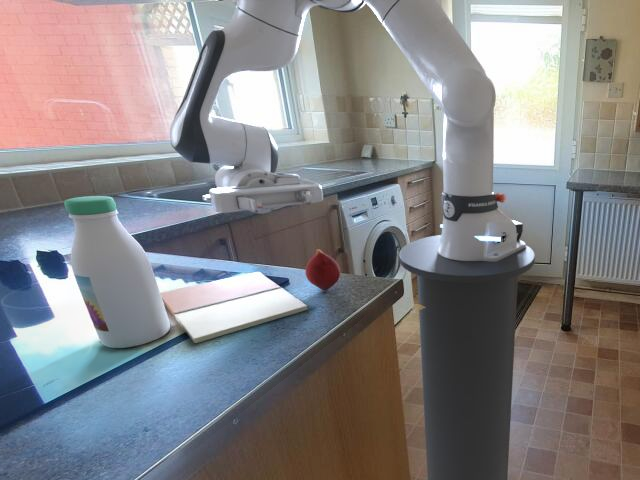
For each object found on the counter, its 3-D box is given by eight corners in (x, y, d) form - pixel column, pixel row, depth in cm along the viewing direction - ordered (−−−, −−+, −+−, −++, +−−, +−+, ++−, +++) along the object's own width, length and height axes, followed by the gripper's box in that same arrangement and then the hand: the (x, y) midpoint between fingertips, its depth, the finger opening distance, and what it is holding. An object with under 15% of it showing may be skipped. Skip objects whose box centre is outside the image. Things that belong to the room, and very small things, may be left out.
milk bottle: (178, 320, 64) (139, 192, 56) (160, 344, 58) (112, 203, 50) (116, 327, 61) (65, 193, 54) (90, 353, 55) (28, 205, 47)
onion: (343, 283, 81) (338, 244, 77) (340, 295, 75) (334, 254, 72) (311, 285, 79) (305, 245, 76) (306, 297, 74) (299, 255, 71)
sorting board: (259, 275, 83) (258, 270, 82) (308, 309, 69) (307, 305, 69) (159, 297, 71) (157, 292, 71) (194, 343, 58) (193, 338, 58)
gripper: (195, 180, 78) (218, 191, 70) (303, 173, 93) (333, 181, 85) (203, 212, 81) (226, 226, 73) (307, 201, 95) (336, 212, 87)
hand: (284, 202), depth 79 cm, fingers open, 8 cm apart
